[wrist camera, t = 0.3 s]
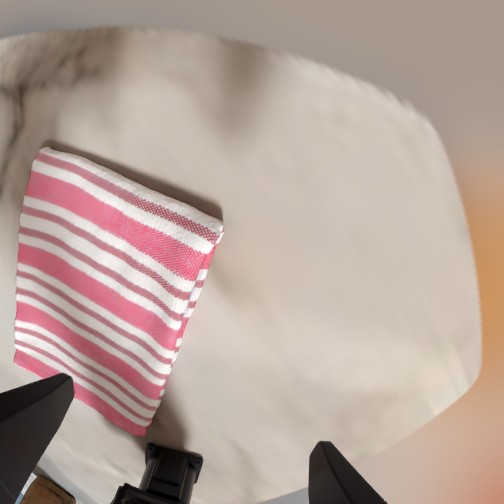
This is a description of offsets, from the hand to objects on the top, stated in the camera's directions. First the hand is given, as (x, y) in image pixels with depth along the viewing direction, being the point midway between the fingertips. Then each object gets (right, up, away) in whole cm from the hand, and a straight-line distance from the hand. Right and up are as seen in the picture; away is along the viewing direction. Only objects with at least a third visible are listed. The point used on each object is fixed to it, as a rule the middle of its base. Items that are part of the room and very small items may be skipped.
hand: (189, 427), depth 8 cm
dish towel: (-12, +1, +14) cm, 18 cm away
